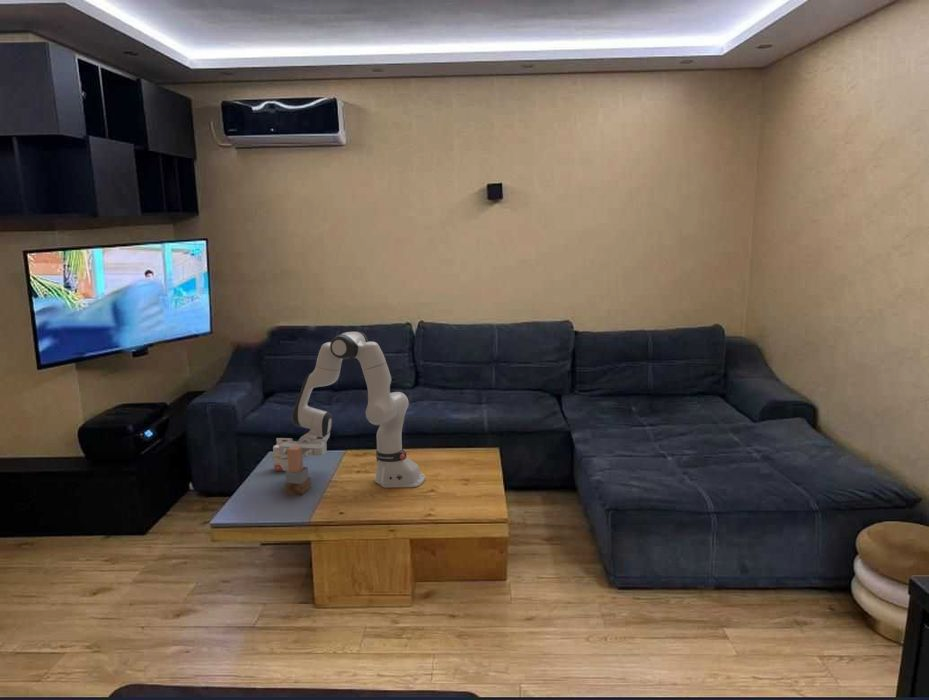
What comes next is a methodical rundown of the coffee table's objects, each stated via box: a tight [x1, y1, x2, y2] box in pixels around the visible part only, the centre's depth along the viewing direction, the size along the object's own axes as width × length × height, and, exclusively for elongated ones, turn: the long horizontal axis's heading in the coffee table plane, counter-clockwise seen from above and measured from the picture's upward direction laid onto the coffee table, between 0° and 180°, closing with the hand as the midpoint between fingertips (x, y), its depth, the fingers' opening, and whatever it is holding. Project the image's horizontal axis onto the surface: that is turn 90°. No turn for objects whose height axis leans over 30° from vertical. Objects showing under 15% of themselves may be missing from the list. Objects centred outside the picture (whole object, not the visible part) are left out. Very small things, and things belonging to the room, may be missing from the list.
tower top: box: [284, 466, 310, 484], centre depth 289 cm, size 7×7×5 cm
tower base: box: [284, 476, 312, 496], centre depth 290 cm, size 8×8×5 cm
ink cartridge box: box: [272, 437, 294, 472], centre depth 315 cm, size 9×5×15 cm, turn 84°
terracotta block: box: [287, 446, 304, 472], centre depth 287 cm, size 4×4×10 cm
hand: (294, 454), depth 286 cm, fingers open, 8 cm apart
